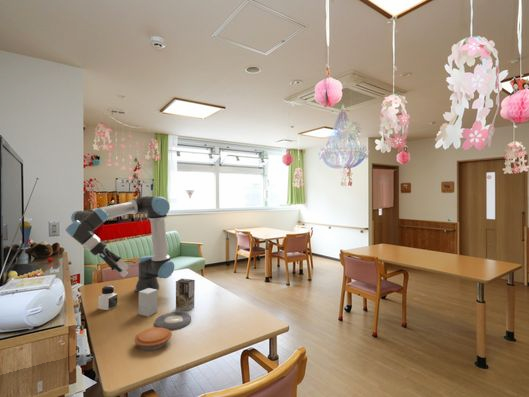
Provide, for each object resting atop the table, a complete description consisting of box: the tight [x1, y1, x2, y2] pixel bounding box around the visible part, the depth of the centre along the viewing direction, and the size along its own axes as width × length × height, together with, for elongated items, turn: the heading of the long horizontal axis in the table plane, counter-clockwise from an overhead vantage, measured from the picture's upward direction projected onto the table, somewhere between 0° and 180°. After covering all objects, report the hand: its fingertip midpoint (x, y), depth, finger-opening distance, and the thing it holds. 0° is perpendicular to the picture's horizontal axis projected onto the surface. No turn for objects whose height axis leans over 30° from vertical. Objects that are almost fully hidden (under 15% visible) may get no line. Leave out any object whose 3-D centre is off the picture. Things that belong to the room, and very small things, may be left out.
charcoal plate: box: [154, 311, 192, 331], centre depth 149 cm, size 18×18×1 cm
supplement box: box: [138, 288, 159, 317], centre depth 159 cm, size 7×7×13 cm
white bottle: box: [97, 285, 118, 311], centre depth 165 cm, size 7×7×12 cm
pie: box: [134, 327, 173, 352], centre depth 127 cm, size 16×16×5 cm
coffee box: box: [175, 278, 196, 311], centre depth 167 cm, size 9×6×16 cm
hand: (126, 272), depth 154 cm, fingers open, 13 cm apart
